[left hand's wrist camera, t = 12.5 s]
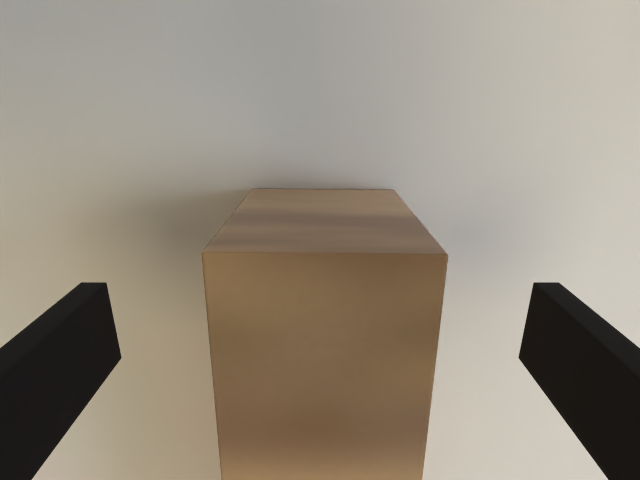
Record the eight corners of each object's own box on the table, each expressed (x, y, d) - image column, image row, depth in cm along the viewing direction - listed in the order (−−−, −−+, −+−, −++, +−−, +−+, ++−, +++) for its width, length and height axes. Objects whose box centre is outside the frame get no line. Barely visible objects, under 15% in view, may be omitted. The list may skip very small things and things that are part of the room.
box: (252, 188, 20) (200, 251, 11) (394, 189, 20) (448, 254, 11) (266, 519, 27) (241, 710, 18) (371, 520, 27) (395, 711, 18)
